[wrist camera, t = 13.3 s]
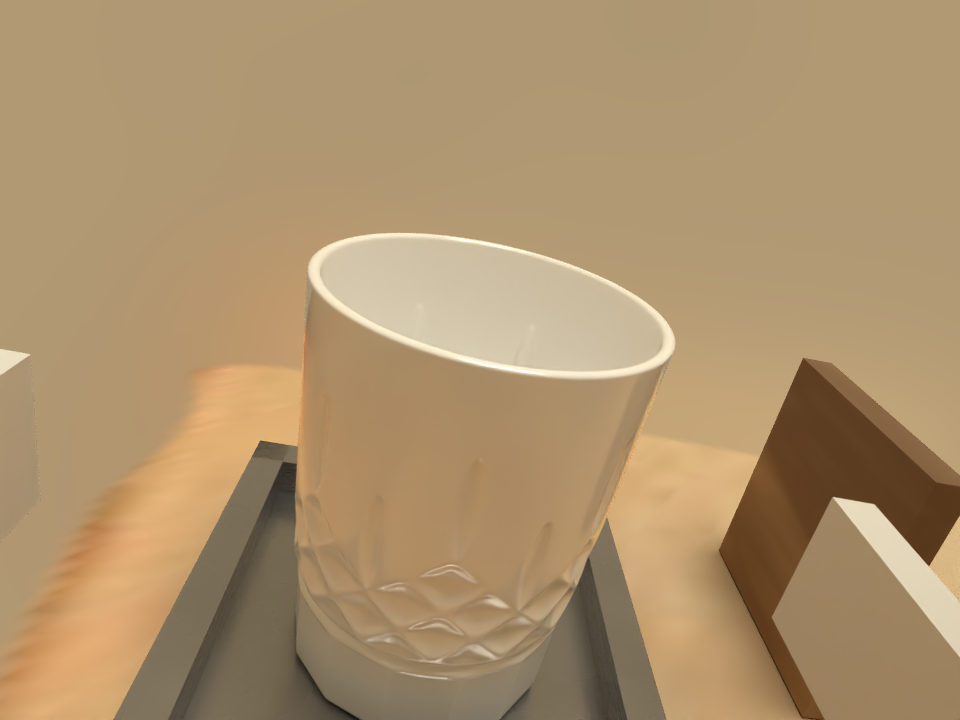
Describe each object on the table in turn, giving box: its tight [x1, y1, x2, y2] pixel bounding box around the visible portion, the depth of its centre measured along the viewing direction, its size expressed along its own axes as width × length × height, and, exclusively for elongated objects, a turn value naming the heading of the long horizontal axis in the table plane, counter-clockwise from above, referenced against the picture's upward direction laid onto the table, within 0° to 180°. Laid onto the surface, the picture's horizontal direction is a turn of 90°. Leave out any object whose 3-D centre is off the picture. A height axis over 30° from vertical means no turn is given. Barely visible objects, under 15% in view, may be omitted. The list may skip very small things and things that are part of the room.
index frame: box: [114, 441, 666, 720], centre depth 19 cm, size 12×12×2 cm
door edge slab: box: [719, 358, 960, 720], centre depth 21 cm, size 1×7×8 cm, turn 0°
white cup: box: [294, 233, 675, 720], centre depth 17 cm, size 8×8×10 cm
